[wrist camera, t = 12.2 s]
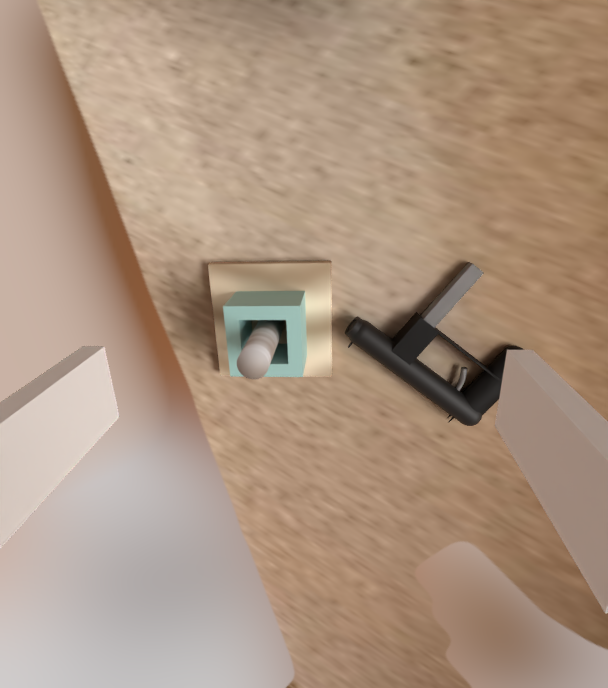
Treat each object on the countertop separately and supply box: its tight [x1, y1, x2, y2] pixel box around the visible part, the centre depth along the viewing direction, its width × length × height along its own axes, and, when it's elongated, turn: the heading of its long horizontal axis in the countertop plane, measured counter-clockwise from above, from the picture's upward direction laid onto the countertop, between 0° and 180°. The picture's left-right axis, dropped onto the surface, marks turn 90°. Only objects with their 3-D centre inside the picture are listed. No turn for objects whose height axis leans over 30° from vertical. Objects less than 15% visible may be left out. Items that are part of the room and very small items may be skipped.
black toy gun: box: [345, 262, 524, 426], centre depth 51 cm, size 3×20×16 cm
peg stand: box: [208, 261, 332, 379], centre depth 46 cm, size 14×14×13 cm
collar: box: [223, 291, 307, 377], centre depth 49 cm, size 8×8×6 cm
